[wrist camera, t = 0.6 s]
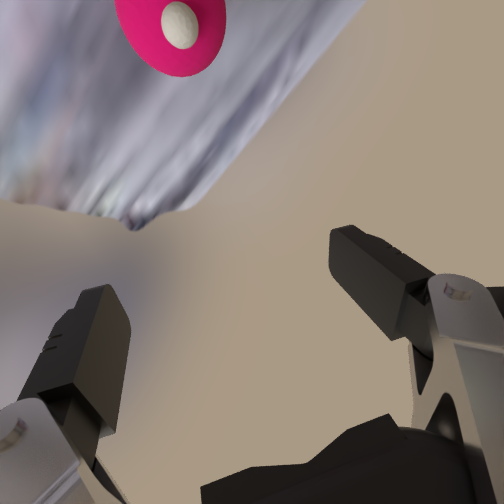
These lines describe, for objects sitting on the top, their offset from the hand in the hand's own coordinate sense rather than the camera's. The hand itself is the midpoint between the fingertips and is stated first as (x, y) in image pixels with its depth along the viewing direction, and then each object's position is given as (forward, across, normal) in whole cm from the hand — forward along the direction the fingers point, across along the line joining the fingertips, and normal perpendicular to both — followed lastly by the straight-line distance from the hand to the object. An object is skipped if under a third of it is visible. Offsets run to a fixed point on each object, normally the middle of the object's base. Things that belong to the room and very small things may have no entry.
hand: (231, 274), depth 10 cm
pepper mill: (+28, -1, -15) cm, 31 cm away
